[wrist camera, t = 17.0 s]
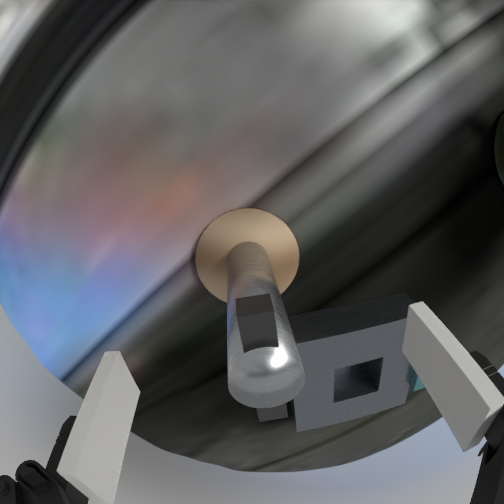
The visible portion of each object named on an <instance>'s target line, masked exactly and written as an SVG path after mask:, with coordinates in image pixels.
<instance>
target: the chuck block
mask: <svg viewBox="0 0 504 504" xmlns="http://www.w3.org/2000/svg"><path fill="white" fill-rule="evenodd" d="M411 304H415V303H414V301H413V300H412V299H411V298H410V297H409V296H408V295H407V294H406V293H405V292H399V293H395V294H391V295H387V296H383V297H378V298H374V299H370V300H365V301H361V302H356V303H351V304H347V305H342V306H337V307H332V308H327V309H322V310H317V311H312V312H307V313H301V314H296V315H291V316H287V317H288V320H289V323H290V326H291V329H292V333H293V336H294V339H295V342H296V346H297V349H298V352H299V355H300V359H301V362H302V365H303V368H304V372H305V376H306V380H305V384H304V387H303V389H302V390H301V392H300V393H299V394H298V395H297V396H296V397H295V398H293V399H292V400H290V403H291V408H292V413H293V417H294V422H295V426H296V431H297V432H300V431H305V430H310V429H315V428H319V427H324V426H328V425H332V424H337V423H341V422H345V421H348V420H352V419H356V418H359V417H363V416H366V415H370V414H373V413H377V412H380V411H383V410H386V409H389V408H392V407H395V406H398V405H401V404H404V403H405V401H406V397H407V393H408V390H409V386H411V388H412V390H413V391H416V390H419V389H422V388H424V387H425V386H424V384H423V383H422V381H421V380H420V378H419V376H418V375H417V373H416V372H415V370H414V369H413V367H412V365H411V364H410V362H409V361H408V359H407V358H406V356H405V355H404V353H403V352H402V347H403V341H404V335H405V329H406V322H407V315H408V308H409V305H411Z"/></svg>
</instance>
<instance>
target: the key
mask: <svg viewBox="0 0 504 504" xmlns="http://www.w3.org/2000/svg"><path fill="white" fill-rule="evenodd" d="M227 350H228V388H229V391H230V393H231V395H232V396H233V397H234V399H236V400H237V401H238V402H240V403H242V404H244V405H246V406H250V407H254V408H256V409H257V413H258V417H259V422H261V421H268V420H274V419H280V418H286V417H288V414H287V406H286V403H287V402H289V401H290V400H292V399H293V398H295V397H296V396H297V395H298V394H299V393H300V392H301V390H302V389H303V387H304V384H305V380H306V376H305V372H304V368H303V365H302V362H301V359H300V355H299V352H298V349H297V346H296V342H295V339H294V336H293V333H292V329H291V326H290V323H289V320H288V317H287V313H286V310H285V307H284V304H283V301H282V298H281V294H280V291H279V288H278V285H277V282H276V279H275V276H274V272H273V269H272V266H271V263H270V260H269V257H268V254H267V252H266V250H265V249H264V248H263V247H262V246H261V245H259V244H258V243H255V242H242V243H239V244H237V245H236V246H234V247H233V248H232V249H231V251H230V252H229V254H228V257H227Z"/></svg>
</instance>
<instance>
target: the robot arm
mask: <svg viewBox="0 0 504 504" xmlns="http://www.w3.org/2000/svg"><path fill="white" fill-rule="evenodd" d="M402 352H403V353H404V355H405V356H406V358H407V359H408V361H409V362H410V364H411V365H412V367H413V369H414V370H415V372H416V373H417V375H418V376H419V378H420V380H421V381H422V383H423V384H424V386H425V388H426V389H427V391H428V392H429V394H430V396H431V397H432V399H433V401H434V402H435V404H436V406H437V407H438V409H439V411H440V412H441V414H442V416H443V417H444V419H445V420H446V422H447V424H448V426H449V427H450V429H451V431H452V432H453V434H454V436H455V438H456V440H457V441H458V443H459V445H460V447H461V449H462V450H463V452H465V451H467V450H468V449H470V448H472V447H474V446H476V445H478V444H479V442H480V441H481V440H482V438H483V437H484V436H485V438H486V440H487V442H486V443H485V445H484V446H483V447H482V449H481V450H480V452H479V454H478V456H480V455H481V454H482V453H483V457H482V461H481V466H480V470H479V474H478V478H477V482H476V485H475V488H474V492H473V495H472V498H471V502H470V504H504V378H503V377H502V376H501V375H500V373H498V372H497V370H496V368H495V367H494V366H492V364H491V362H490V361H489V360H488V359H487V358H486V357H485V356H484V355H482V354H480V353H479V352H477V351H474V352H471V353H468V352H467V351H466V350H465V348H464V347H463V346H462V345H461V344H460V342H459V341H458V340H457V339H456V338H455V337H454V336H453V334H452V333H451V332H450V331H449V330H448V329H447V328H446V326H445V325H444V324H443V323H442V322H441V321H440V320H439V319H438V318H437V316H436V315H435V314H434V313H433V312H432V311H431V310H430V309H429V308H428V307H427V306H426V304H425V303H424V302H423V301H422V302H418V303H415V304H411V305H409V308H408V315H407V322H406V329H405V335H404V341H403V347H402ZM139 395H140V391H139V389H138V387H137V385H136V383H135V381H134V379H133V377H132V375H131V373H130V371H129V369H128V367H127V365H126V363H125V361H124V359H123V357H122V355H121V353H120V351H107V352H105V353H104V355H103V358H102V360H101V362H100V364H99V366H98V368H97V371H96V373H95V375H94V377H93V380H92V382H91V384H90V387H89V389H88V391H87V393H86V396H85V398H84V401H83V403H82V405H81V408H80V410H79V413H78V415H77V416H70V417H69V418H68V419H67V420H66V421H65V423H64V424H63V426H62V428H61V430H60V433H59V436H58V438H57V440H56V444H55V445H54V448H53V450H52V453H51V455H50V458H49V461H48V463H47V466H46V469H44V468H43V467H42V466H41V465H40V464H39V463H38V462H36V461H34V460H28V461H24V462H23V463H22V464H20V465H19V467H18V468H17V470H16V474H15V476H16V480H17V481H18V482H16V481H15V480H13V479H12V478H11V477H9V476H8V475H2V476H0V504H88V500H89V499H90V500H91V501H92V502H93V503H95V504H114V500H115V495H116V490H117V485H118V480H119V476H120V471H121V467H122V462H123V457H124V454H125V449H126V445H127V441H128V437H129V433H130V429H131V425H132V421H133V417H134V413H135V410H136V406H137V402H138V398H139ZM483 451H484V452H483Z"/></svg>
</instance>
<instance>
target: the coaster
mask: <svg viewBox="0 0 504 504" xmlns="http://www.w3.org/2000/svg"><path fill="white" fill-rule="evenodd" d="M242 242H255V243H258V244H259V245H261V246H262V247H263V248H264V249H265V250H266V252H267V254H268V257H269V260H270V263H271V266H272V269H273V272H274V276H275V279H276V282H277V285H278V288H279V291H280V294H281V293H282V292H284V291H285V290H286V288H287V287H288V286H289V285H290V284H291V282H292V280H293V279H294V277H295V274H296V272H297V269H298V265H299V250H298V245H297V242H296V239H295V237H294V235H293V233H292V232H291V230H290V229H289V227H288V226H287V225H286V224H285V223H284V222H283V221H282V220H281V219H280V218H278V217H277V216H275V215H274V214H272V213H269V212H267V211H264V210H261V209H255V208H240V209H235V210H231V211H229V212H226V213H224V214H222V215H220V216H219V217H217V218H216V219H214V220H213V221H212V222H211V223H210V224H209V225H208V226H207V227H206V229H205V230H204V232H203V233H202V235H201V237H200V239H199V242H198V245H197V249H196V256H195V262H196V269H197V272H198V275H199V278H200V280H201V282H202V283H203V285H204V286H205V287H206V288H207V290H208V291H209V292H210V293H212V294H213V295H214V296H215V297H217V298H218V299H220V300H222V301H224V302H227V257H228V254H229V252H230V251H231V249H232V248H233V247H234V246H236V245H237V244H239V243H242Z"/></svg>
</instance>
